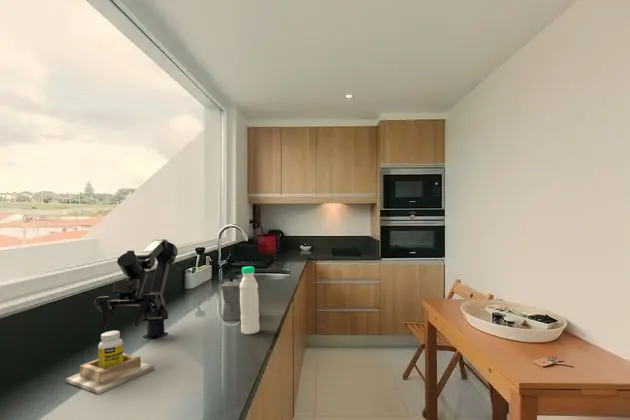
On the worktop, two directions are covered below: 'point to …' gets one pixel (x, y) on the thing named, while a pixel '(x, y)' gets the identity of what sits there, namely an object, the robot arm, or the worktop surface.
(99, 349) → the pill bottle
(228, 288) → the coffeepot
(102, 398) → the worktop surface
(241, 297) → the water bottle
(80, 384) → the socket
